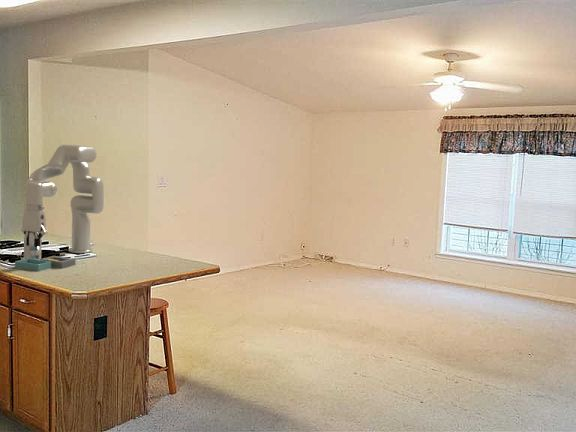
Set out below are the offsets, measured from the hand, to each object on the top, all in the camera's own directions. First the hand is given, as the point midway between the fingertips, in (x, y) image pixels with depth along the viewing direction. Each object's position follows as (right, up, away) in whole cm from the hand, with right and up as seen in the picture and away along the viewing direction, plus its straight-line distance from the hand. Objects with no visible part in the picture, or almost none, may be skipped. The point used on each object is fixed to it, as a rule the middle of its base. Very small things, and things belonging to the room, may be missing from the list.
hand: (33, 245), depth 265 cm
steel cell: (0, -2, 0) cm, 2 cm away
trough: (-1, -11, +1) cm, 11 cm away
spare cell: (-5, -9, +12) cm, 16 cm away
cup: (-10, -8, +20) cm, 23 cm away
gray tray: (+7, -10, +10) cm, 16 cm away
